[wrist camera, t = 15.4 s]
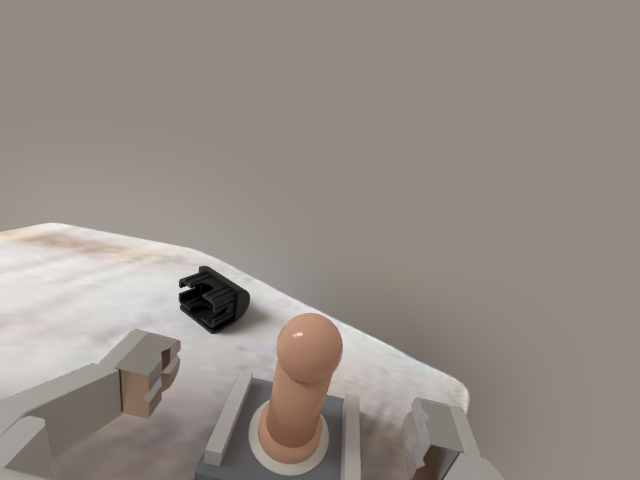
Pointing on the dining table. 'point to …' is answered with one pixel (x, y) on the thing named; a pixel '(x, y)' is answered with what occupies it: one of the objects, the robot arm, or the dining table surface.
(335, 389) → the dining table surface
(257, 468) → the display plinth
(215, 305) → the end cap
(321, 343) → the ball-topped peg
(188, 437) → the dining table surface
